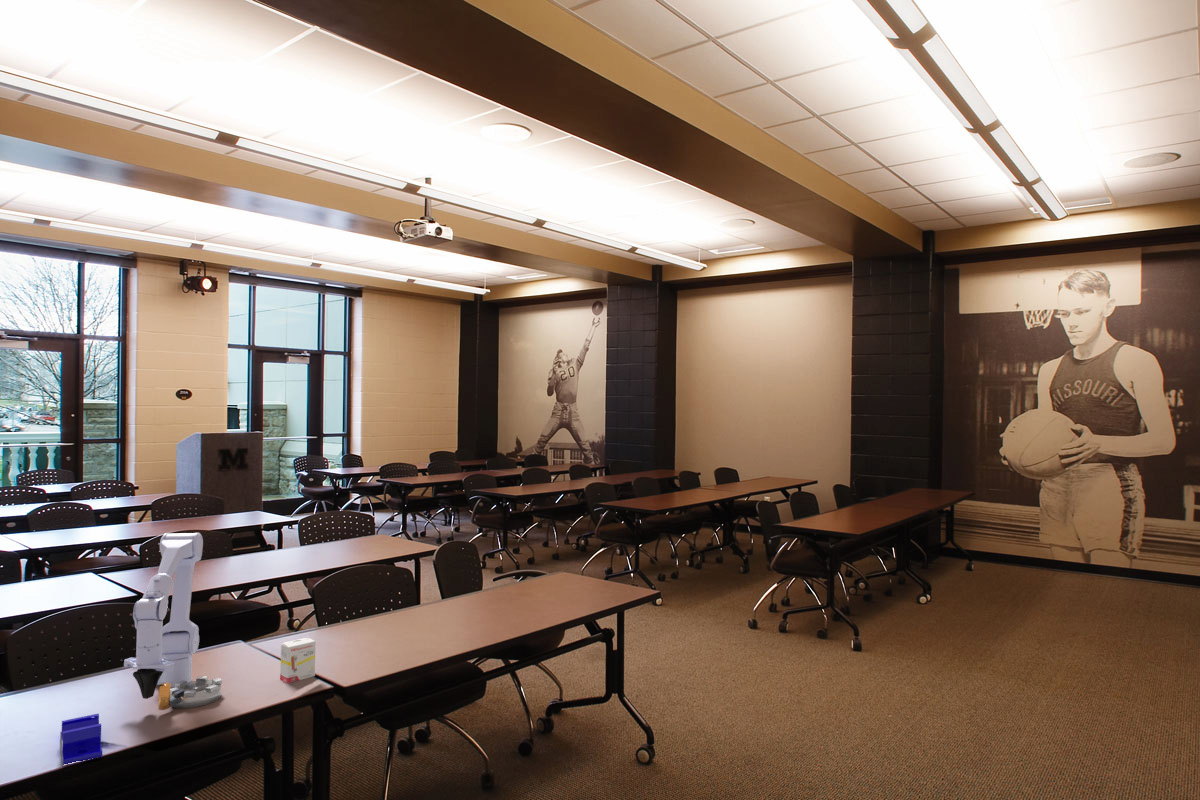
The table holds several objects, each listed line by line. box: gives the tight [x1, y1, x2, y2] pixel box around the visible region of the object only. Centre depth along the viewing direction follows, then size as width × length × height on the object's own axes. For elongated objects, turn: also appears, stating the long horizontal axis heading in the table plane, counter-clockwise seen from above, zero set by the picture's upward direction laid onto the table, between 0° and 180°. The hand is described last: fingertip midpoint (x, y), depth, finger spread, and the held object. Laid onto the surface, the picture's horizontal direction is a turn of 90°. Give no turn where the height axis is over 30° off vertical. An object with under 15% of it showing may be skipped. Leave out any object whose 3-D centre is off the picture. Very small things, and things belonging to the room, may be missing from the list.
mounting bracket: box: [59, 713, 103, 766], centre depth 169 cm, size 18×7×6 cm, turn 39°
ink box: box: [279, 637, 316, 684], centre depth 211 cm, size 9×5×12 cm, turn 137°
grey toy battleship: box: [157, 675, 223, 711], centre depth 192 cm, size 17×12×8 cm
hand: (148, 697), depth 186 cm, fingers closed
